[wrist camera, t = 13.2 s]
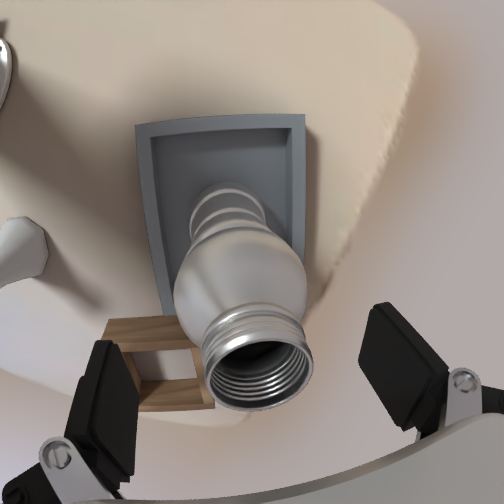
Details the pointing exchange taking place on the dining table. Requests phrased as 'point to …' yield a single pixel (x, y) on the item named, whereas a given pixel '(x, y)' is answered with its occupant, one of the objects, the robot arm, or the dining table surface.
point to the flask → (21, 250)
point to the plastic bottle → (243, 302)
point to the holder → (153, 339)
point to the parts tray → (218, 179)
